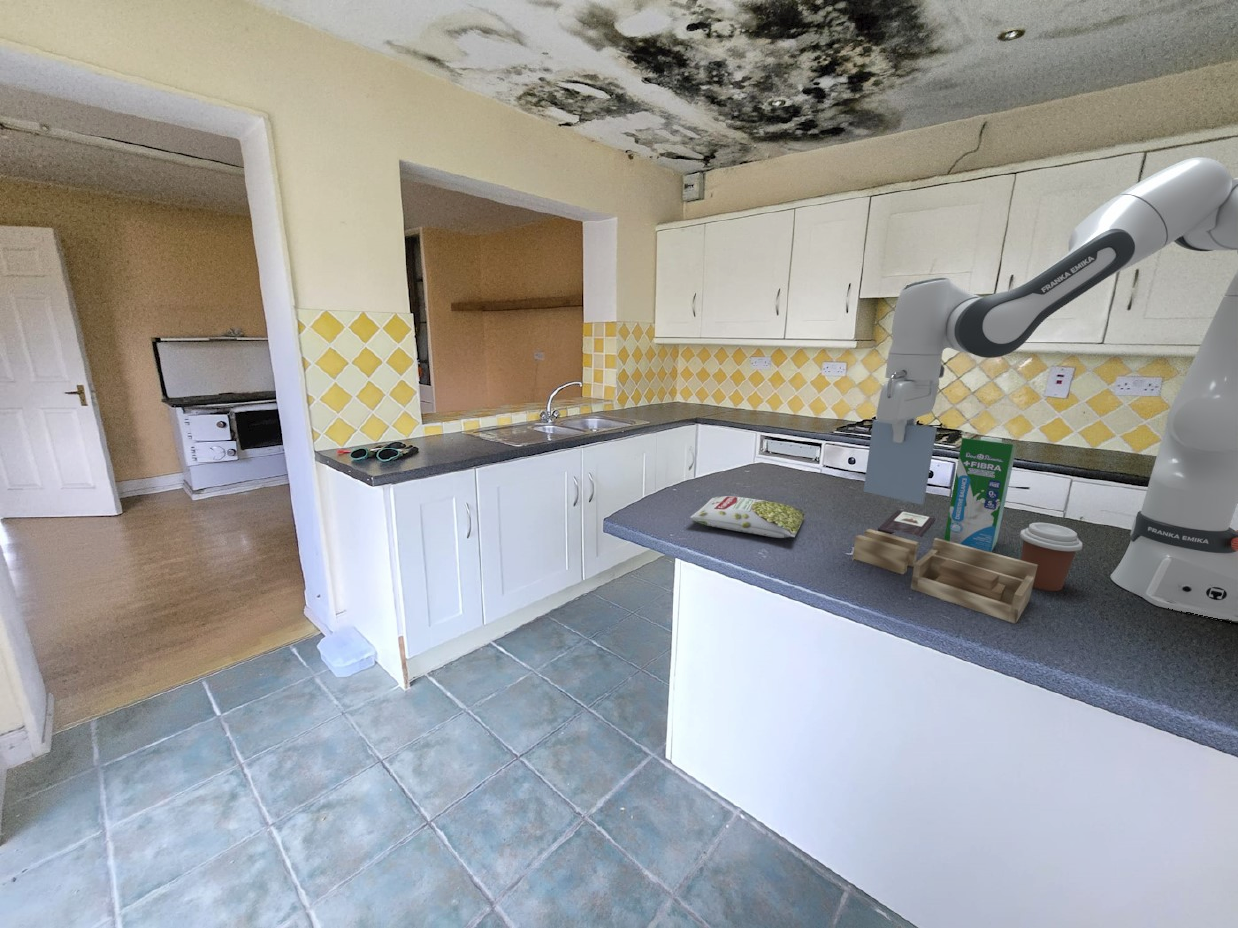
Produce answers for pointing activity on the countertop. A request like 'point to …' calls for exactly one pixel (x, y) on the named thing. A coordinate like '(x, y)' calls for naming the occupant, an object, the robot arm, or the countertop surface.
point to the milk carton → (979, 492)
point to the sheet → (899, 462)
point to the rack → (1009, 569)
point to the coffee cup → (1049, 553)
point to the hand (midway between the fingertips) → (901, 441)
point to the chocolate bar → (907, 523)
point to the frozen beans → (750, 516)
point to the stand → (885, 551)
